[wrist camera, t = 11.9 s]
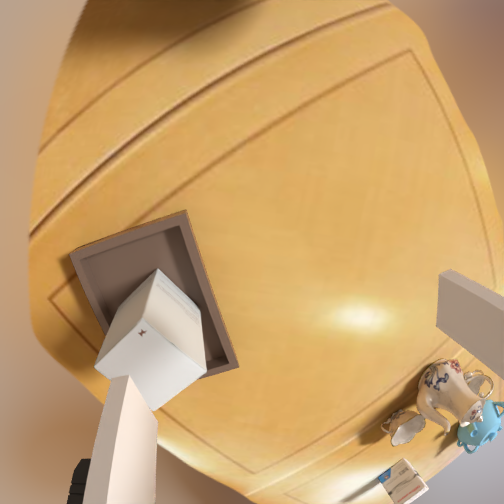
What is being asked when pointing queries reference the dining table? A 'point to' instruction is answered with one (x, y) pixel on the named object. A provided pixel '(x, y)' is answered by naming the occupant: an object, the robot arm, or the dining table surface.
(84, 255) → the tray
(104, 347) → the supplement box
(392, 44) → the dining table surface
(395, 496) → the ink box
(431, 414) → the chinaware
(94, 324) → the dining table surface
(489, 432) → the teapot
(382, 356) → the dining table surface
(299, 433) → the dining table surface
